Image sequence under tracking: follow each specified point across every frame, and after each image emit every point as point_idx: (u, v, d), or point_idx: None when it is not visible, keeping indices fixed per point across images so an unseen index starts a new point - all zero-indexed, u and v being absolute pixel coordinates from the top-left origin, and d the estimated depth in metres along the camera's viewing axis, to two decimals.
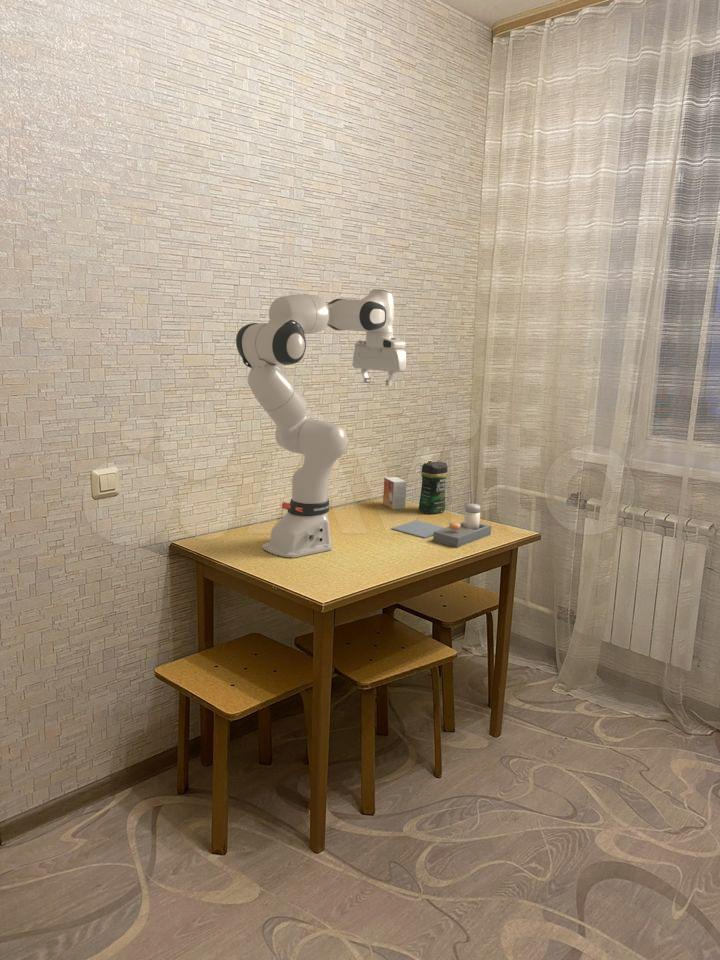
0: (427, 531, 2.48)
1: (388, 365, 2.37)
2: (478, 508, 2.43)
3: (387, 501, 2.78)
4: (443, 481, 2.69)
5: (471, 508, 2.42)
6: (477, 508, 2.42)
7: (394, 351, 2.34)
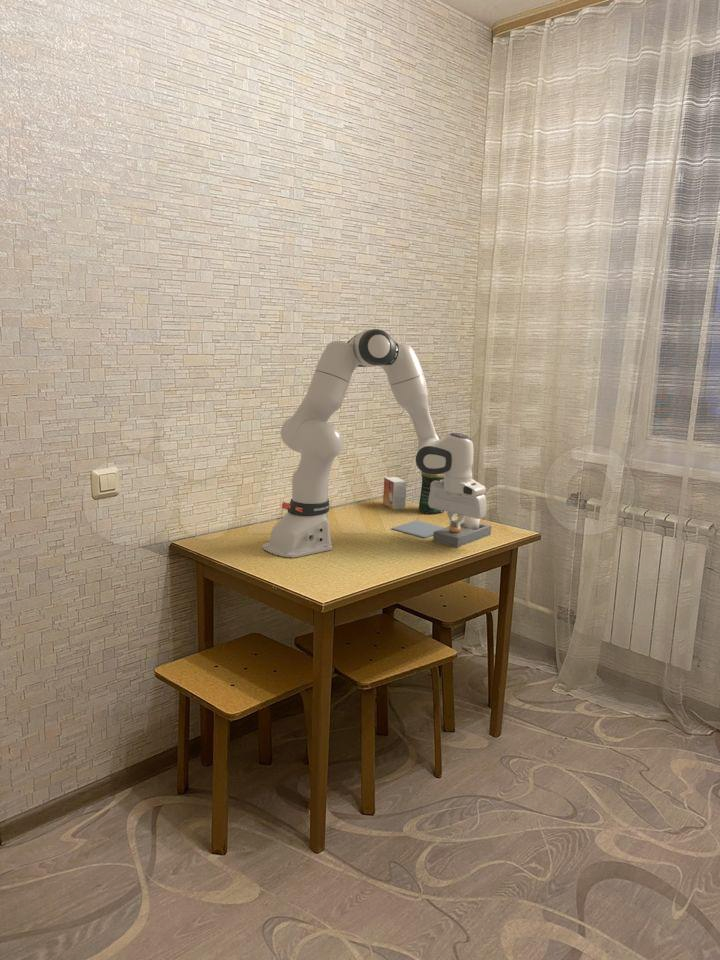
0: (427, 531, 2.48)
1: (468, 510, 2.32)
2: None
3: (387, 501, 2.78)
4: None
5: None
6: None
7: (475, 498, 2.29)
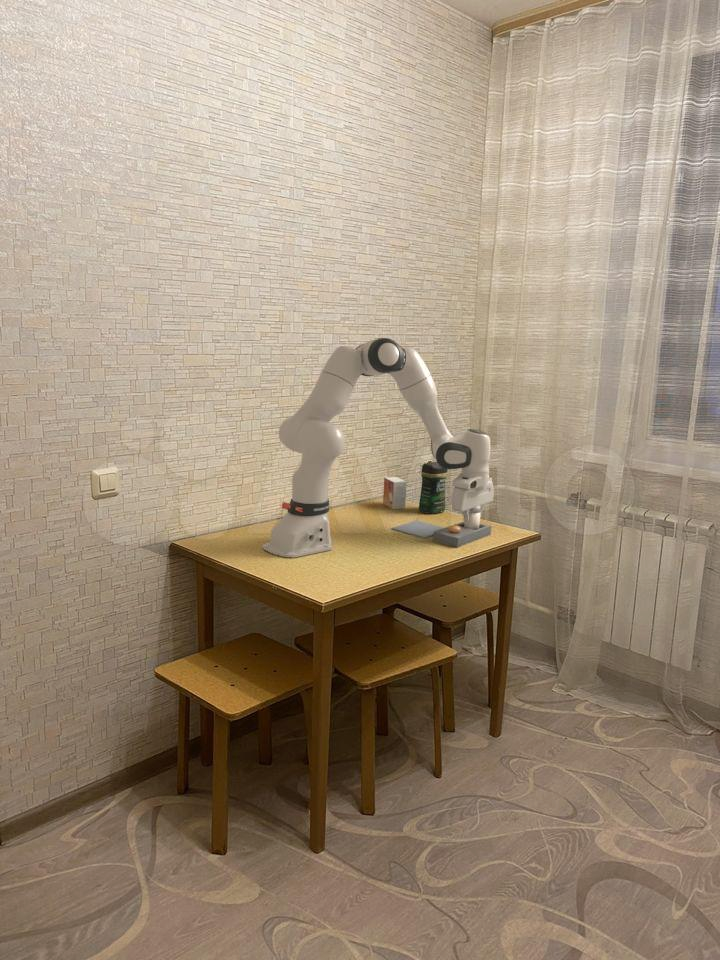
0: (427, 531, 2.48)
1: None
2: (478, 508, 2.43)
3: (387, 501, 2.78)
4: (443, 481, 2.69)
5: None
6: (477, 508, 2.42)
7: None
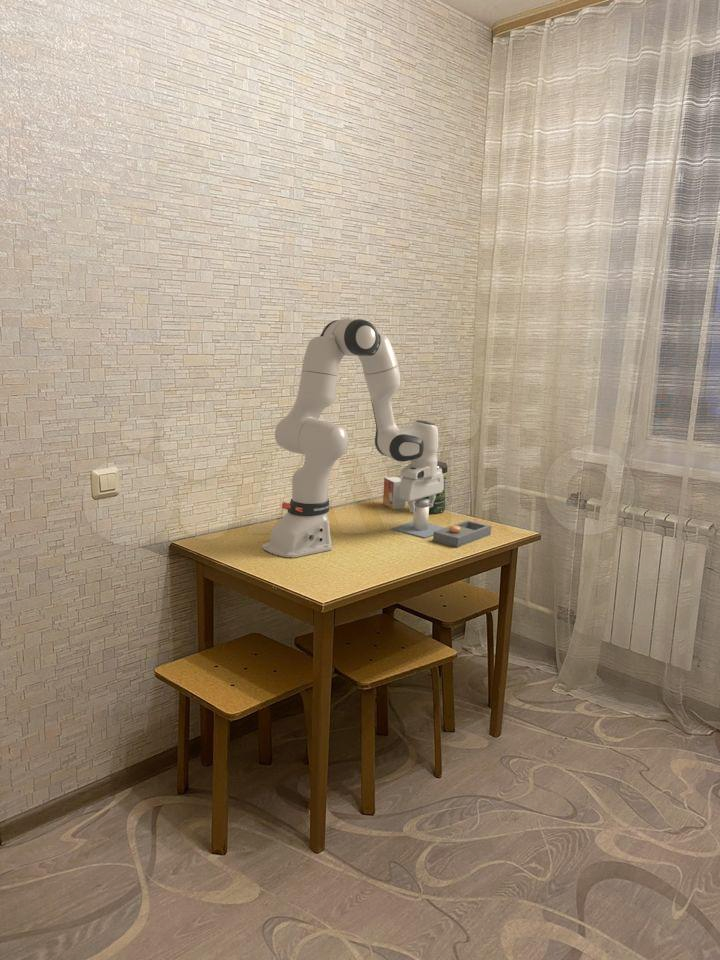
0: (427, 531, 2.48)
1: None
2: (426, 502, 2.46)
3: (387, 501, 2.78)
4: None
5: (419, 502, 2.46)
6: (425, 502, 2.46)
7: None
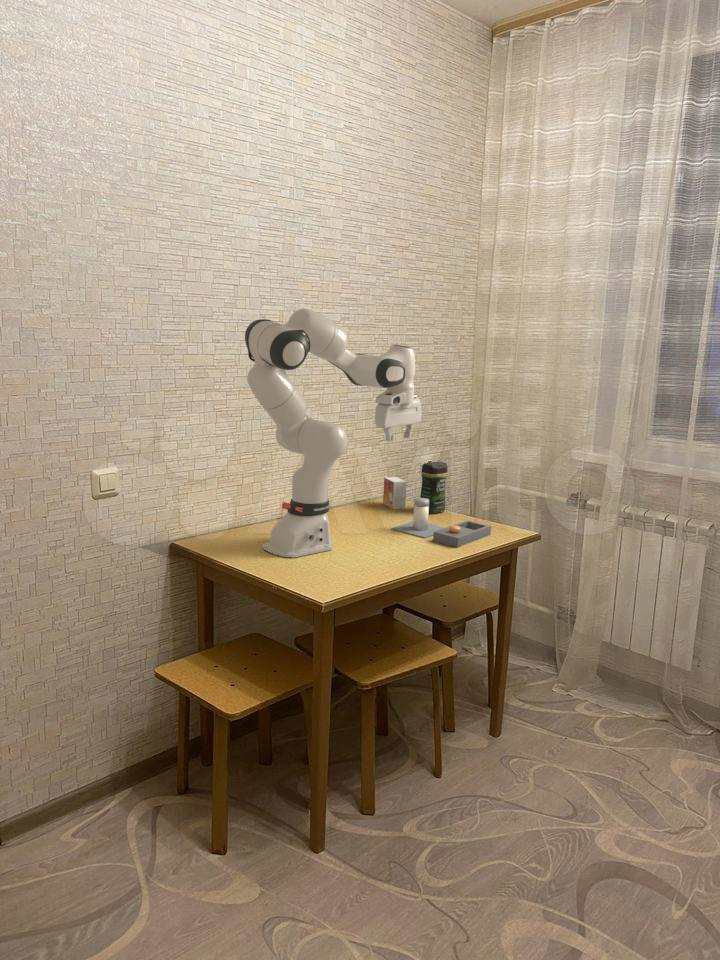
0: (427, 531, 2.48)
1: None
2: (426, 502, 2.46)
3: (387, 501, 2.78)
4: (443, 481, 2.69)
5: (419, 502, 2.46)
6: (425, 502, 2.46)
7: None
